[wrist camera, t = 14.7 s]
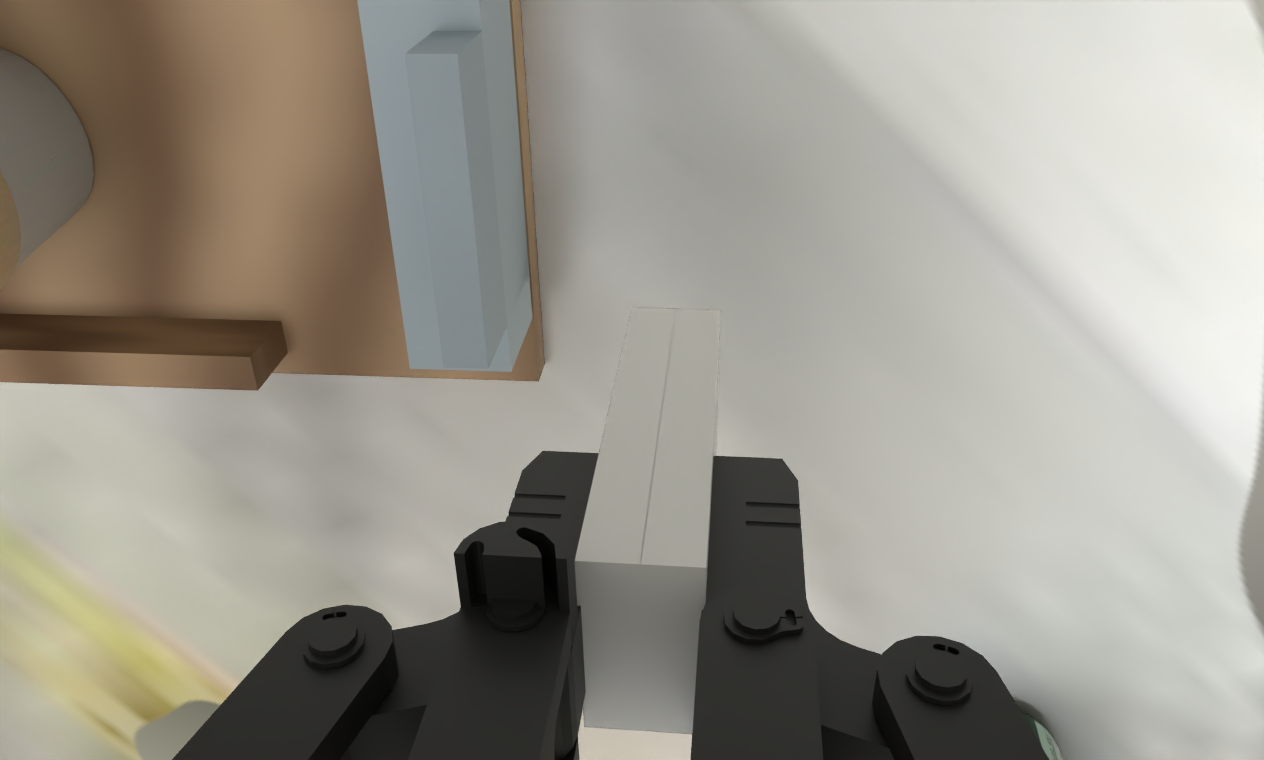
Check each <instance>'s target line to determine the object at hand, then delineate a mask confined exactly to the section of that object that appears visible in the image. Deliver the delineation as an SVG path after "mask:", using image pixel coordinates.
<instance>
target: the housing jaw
mask: <svg viewBox="0 0 1264 760" xmlns="http://www.w3.org/2000/svg"><path fill="white" fill-rule="evenodd" d="M357 2H358V9H359V16H360V23H361V30H362V37H363V44H364V51H365V58H366V65H367V72H368V79H369V86H370V93H371V100H372V107H373V114H374V121H375V128H376V135H377V142H378V149H379V156H380V163H381V170H382V177H383V184H384V191H385V198H386V205H387V212H388V219H389V226H390V233H391V240H392V247H393V254H394V261H395V268H396V275H397V282H398V289H399V296H400V303H401V310H402V317H403V324H404V331H405V338H406V345H407V352H408V359H409V366H410V369H433V370H466V371H499V372H511V371H512V369H513V366H514V364H515V361H516V358H517V356H518V353H519V351H520V348H521V346H522V343H523V341H524V338H525V335H526V333H527V330H528V328H529V325H530V323H531V320H532V307H531V293H530V279H529V265H528V251H527V238H526V224H525V210H524V196H523V182H522V168H521V154H520V141H519V127H518V113H517V99H516V85H515V71H514V57H513V43H512V30H511V16H510V2H509V0H357Z"/></svg>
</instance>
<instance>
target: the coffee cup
mask: <svg viewBox="0 0 1264 760" xmlns="http://www.w3.org/2000/svg"><path fill="white" fill-rule="evenodd" d="M93 177H94V167H93V156H92V152H91V148H90V145H89V141H88V138H87V135H86V133H85V131H84V128H83V126H82V124H81V121H80V119H79V118H78V116H77V114H76V113H75V111H74V109H73V108H72V106H71V104H70V103H69V101H68V100H67V98H66V97H65V96H64V95H63V93H62V92H61V91H60V90H59V88H58V87H57V86H56V85H55V84H54V83H53V82H52V81H51V80H50V79H49V78H48V77H47V76H46V75H45V74H44V73H43V72H42V71H41V70H40V69H39V68H37V67H36V66H34V65H33V64H31V63H30V62H28V61H27V60H25V59H24V58H22V57H20V56H18V55H16V54H14V53H11V52H9V51H7V50H4V49H1V48H0V289H1V288H2V287H3V286H4V284H5V283H6V282H7V281H8V280H9V279H10V278H11V276H12V274H13V272H14V269H15V268H16V267H17V266H18V265H19V264H21V263H22V262H23V261H24V260H25V259H26V258H27V257H28V256H29V255H31V254H32V253H33V252H34V251H35V250H36V249H37V248H38V247H39V246H40V245H42V244H43V243H44V242H45V241H46V240H47V239H48V238H49V237H50V236H51V235H53V234H54V233H55V232H56V231H57V230H58V229H59V228H60V227H61V226H63V225H64V224H65V223H66V222H67V221H68V220H69V219H70V218H71V217H72V216H73V215H74V214H75V213H76V212H77V211H78V210H79V209H80V208H81V207H82V206H83V205H84V204H85V202H86V200H87V198H88V196H89V194H90V192H91V190H92V184H93Z"/></svg>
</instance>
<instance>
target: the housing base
mask: <svg viewBox="0 0 1264 760" xmlns="http://www.w3.org/2000/svg"><path fill="white" fill-rule="evenodd" d="M509 2H510V16H511V30H512V43H513V57H514V71H515V85H516V99H517V113H518V127H519V141H520V154H521V168H522V182H523V196H524V210H525V224H526V238H527V251H528V265H529V279H530V293H531V307H532V320H531V323H530V325H529V328H528V330H527V333H526V335H525V338H524V341H523V343H522V346H521V348H520V351H519V353H518V356H517V358H516V361H515V364H514V366H513V369H512V371H511V372H499V371H466V370H433V369H410V366H409V359H408V352H407V345H406V338H405V331H404V324H403V317H402V310H401V303H400V296H399V289H398V282H397V275H396V268H395V261H394V254H393V247H392V240H391V233H390V226H389V219H388V212H387V205H386V198H385V191H384V184H383V177H382V170H381V163H380V156H379V149H378V142H377V135H376V128H375V121H374V114H373V107H372V100H371V93H370V86H369V79H368V72H367V65H366V58H365V51H364V44H363V37H362V30H361V23H360V16H359V9H358V2H357V0H0V48H1V49H4V50H7V51H9V52H11V53H14V54H16V55H18V56H20V57H22V58H24V59H25V60H27V61H28V62H30V63H31V64H33V65H34V66H36V67H37V68H39V69H40V70H41V71H42V72H43V73H44V74H45V75H46V76H47V77H48V78H49V79H50V80H51V81H52V82H53V83H54V84H55V85H56V86H57V87H58V88H59V90H60V91H61V92H62V93H63V95H64V96H65V97H66V98H67V100H68V101H69V103H70V104H71V106H72V108H73V109H74V111H75V113H76V114H77V116H78V118H79V119H80V121H81V124H82V126H83V128H84V131H85V133H86V135H87V138H88V141H89V145H90V148H91V152H92V156H93V167H94V177H93V184H92V190H91V192H90V194H89V196H88V198H87V200H86V202H85V204H84V205H83V206H82V207H81V208H80V209H79V210H78V211H77V212H76V213H75V214H74V215H73V216H72V217H71V218H70V219H69V220H68V221H67V222H66V223H65V224H64V225H63V226H61V227H60V228H59V229H58V230H57V231H56V232H55V233H54V234H53V235H51V236H50V237H49V238H48V239H47V240H46V241H45V242H44V243H43V244H42V245H40V246H39V247H38V248H37V249H36V250H35V251H34V252H33V253H32V254H31V255H29V256H28V257H27V258H26V259H25V260H24V261H23V262H22V263H21V264H19V265H18V266H17V267H16V268H15V269H14V272H13V274H12V276H11V278H10V279H9V280H8V281H7V282H6V283H5V284H4V286H3V287H2V288H1V289H0V382H17V383H48V384H78V385H108V386H139V387H169V388H199V389H230V390H259V388H260V387H261V386H262V385H263V383H264V382H265V381H266V380H267V378H268V377H269V376H270V375H271V373H292V374H324V375H356V376H388V377H419V378H451V379H483V380H515V381H539V379H540V376H541V373H542V370H543V367H544V364H545V362H544V347H543V332H542V318H541V303H540V288H539V273H538V258H537V243H536V228H535V213H534V198H533V183H532V169H531V154H530V139H529V124H528V109H527V94H526V79H525V64H524V49H523V34H522V20H521V5H520V0H509Z"/></svg>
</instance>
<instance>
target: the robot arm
mask: <svg viewBox="0 0 1264 760" xmlns="http://www.w3.org/2000/svg"><path fill="white" fill-rule="evenodd" d="M720 311H721V310H710V309H676V308H641V307H632V309H631V313H630V318H629V322H628V326H627V331H626V335H625V340H624V344H623V349H622V353H621V357H620V362H619V366H618V371H617V375H616V380H615V384H614V388H613V393H612V397H611V402H610V406H609V411H608V415H607V419H606V424H605V428H604V433H603V437H602V442H601V446H600V451H599V453H579V452H556V451H542V452H541V453H540V454H539V455H538V456H537V457H536V458H535V459H534V460H533V461H532V462H531V463H530V464H529V465H528V466H527V467H526V468H524V469H523V470H522V473H521V476H520V479H519V482H518V485H517V488H516V491H515V498H513V500H512V503H511V506H510V509H509V516H507V518H506V521H505V522H498V523H495V524H492V525H489V526H486V527H483V528H480V529H478V530H477V531H475V532H474V533H472V534H471V535H469V536H468V537H466V538H465V539H463V541H462V542H461V544H460V545H459V546H458V548H457V549H456V551H455V552H454V558H455V566H456V573H457V581H458V588H459V596H460V603H461V608H460V611H459V612H458V613H456V614H453V615H451V616H449V617H447V618H445V619H443V620H439V621H435V622H432V623H428V624H424V625H418V626H413V627H408V628H402V629H397V630H392V627H391V625H390V624H389V623H388V621H387V620H386V619H385V617H384V616H383V615H382V614H381V613H378V612H376V611H374V610H372V609H370V608H368V607H364V606H353V605H342V606H336V607H331V608H325V609H322V610H320V611H317V612H315V613H313V614H311V615H309V616H306V617H304V618H302V619H301V620H300V621H299V622H297V623H296V624H295V625H294V626H292V627H291V628H290V629H289V630H288V631H286V632H285V634H284V635H283V636H282V637H281V638H280V639H279V640H278V641H277V643H276V644H275V645H274V646H273V647H272V648H271V649H270V650H269V652H268V653H267V654H266V655H265V656H264V657H263V658H262V659H261V661H260V662H259V663H258V664H257V665H256V666H255V667H254V668H253V669H252V671H251V672H250V673H249V674H248V675H247V676H246V677H245V678H244V680H243V681H242V682H241V683H240V684H239V685H238V686H237V687H236V689H235V690H234V691H233V692H232V693H231V694H230V695H229V696H228V698H227V699H226V700H225V701H224V702H223V703H222V704H221V705H220V707H219V708H218V709H217V710H216V711H215V712H214V713H213V714H212V716H211V717H210V718H209V719H208V720H207V721H206V722H205V723H204V724H203V726H202V727H201V728H200V729H199V730H198V731H197V732H196V733H195V735H194V736H193V737H192V738H191V739H190V740H189V741H188V742H187V744H186V745H185V746H184V747H183V748H182V749H181V750H180V751H179V753H178V754H177V755H176V756H175V757H174V758H173V759H172V760H579V748H578V731H579V725H580V720H581V714H582V709H583V715H584V727H595V728H609V729H624V730H639V731H653V732H668V733H682V734H692V747H691V760H1049V758H1048V756H1047V755H1046V753H1045V751H1044V750H1043V748H1042V746H1041V745H1040V743H1039V741H1038V740H1037V738H1036V736H1035V735H1034V733H1033V731H1032V730H1031V728H1030V726H1029V725H1028V723H1027V721H1026V720H1025V718H1024V716H1023V715H1022V713H1021V711H1020V710H1019V708H1018V706H1017V705H1016V703H1015V701H1014V700H1013V698H1012V696H1011V695H1010V693H1009V691H1008V690H1007V688H1006V686H1005V685H1004V683H1003V681H1002V680H1001V678H1000V676H999V675H998V673H997V672H996V670H995V669H994V668H993V667H992V666H991V665H990V664H989V662H988V661H987V660H986V659H985V658H984V657H983V656H982V655H980V654H979V653H977V652H976V651H974V650H972V649H971V648H969V647H967V646H966V645H964V644H962V643H959V642H956V641H952V640H949V639H946V638H942V637H937V636H914V637H911V638H907V639H904V640H900V641H897V642H895V643H894V644H893V645H892V646H891V647H889V648H888V649H887V650H886V651H884V652H883V654H882V655H881V654H878V653H875V652H871V651H868V650H865V649H862V648H858V647H856V646H853V645H851V644H849V643H846V642H844V641H841V640H840V639H838V638H836V637H835V636H833V635H832V634H830V633H829V632H827V631H826V630H825V629H824V628H823V627H822V626H821V625H820V624H819V623H818V622H817V621H816V620H815V618H814V617H813V615H812V613H811V612H810V610H809V608H808V604H807V600H806V590H805V576H804V562H803V547H802V533H801V518H800V509H799V490H798V480H797V479H796V477H795V476H794V474H793V473H792V472H791V470H790V469H789V468H788V466H787V465H786V464H785V462H784V461H783V460H782V459H774V458H751V457H727V456H716V443H717V410H718V377H719V344H720Z"/></svg>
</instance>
